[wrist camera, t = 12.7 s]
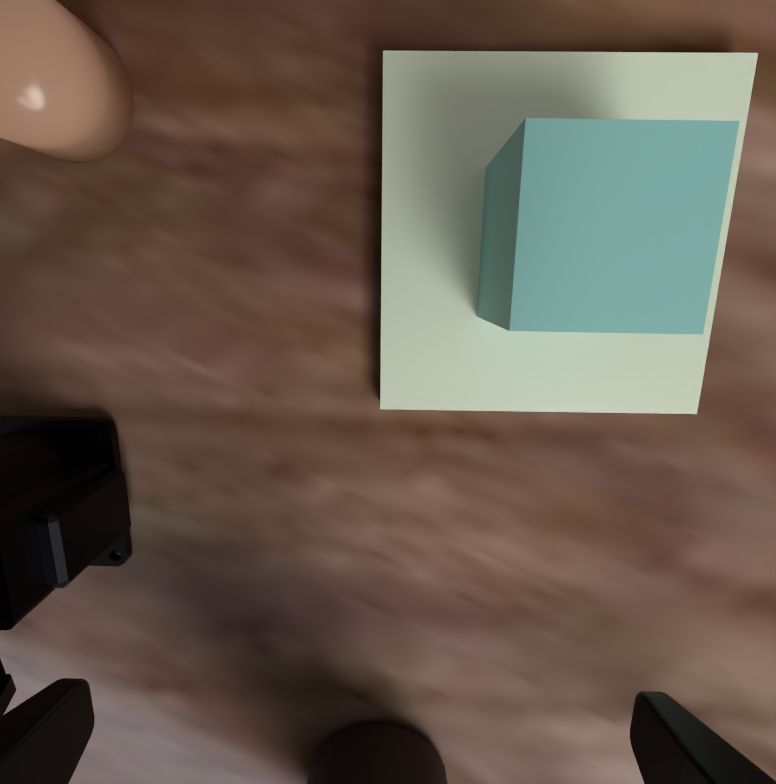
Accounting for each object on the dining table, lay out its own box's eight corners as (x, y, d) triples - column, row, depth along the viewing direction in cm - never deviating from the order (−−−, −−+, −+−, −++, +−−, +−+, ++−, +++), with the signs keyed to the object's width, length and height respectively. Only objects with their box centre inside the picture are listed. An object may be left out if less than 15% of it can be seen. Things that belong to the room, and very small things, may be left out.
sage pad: (381, 402, 19) (380, 409, 18) (383, 64, 16) (383, 50, 15) (681, 406, 19) (696, 413, 18) (735, 67, 16) (758, 52, 15)
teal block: (476, 316, 17) (509, 331, 12) (485, 167, 16) (525, 117, 11) (615, 318, 17) (703, 334, 12) (633, 169, 16) (739, 120, 11)
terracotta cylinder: (20, 162, 17) (-91, 128, 13) (-2, 23, 16) (-129, -60, 12) (140, 163, 17) (65, 129, 13) (126, 24, 16) (40, -59, 12)
